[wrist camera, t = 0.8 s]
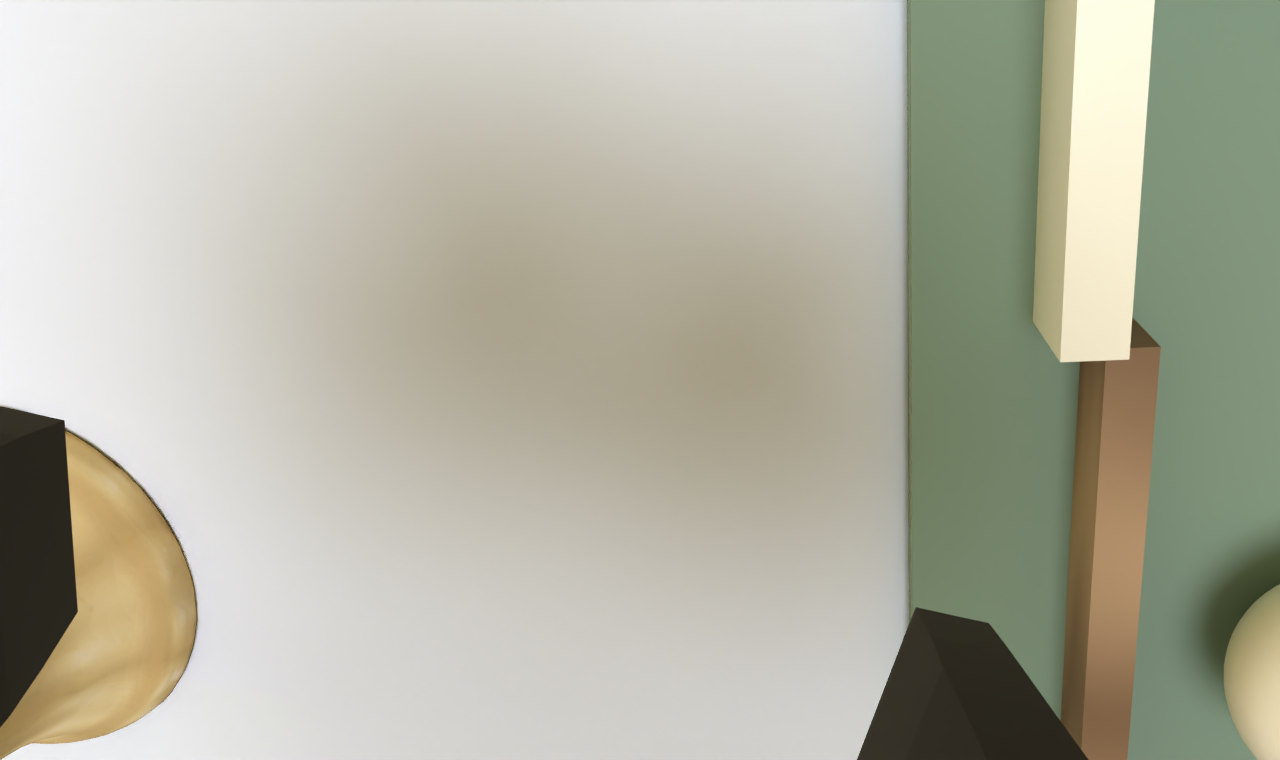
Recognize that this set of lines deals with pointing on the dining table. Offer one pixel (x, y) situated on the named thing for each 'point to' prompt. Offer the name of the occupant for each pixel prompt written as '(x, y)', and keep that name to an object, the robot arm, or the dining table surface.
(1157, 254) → the pitch mat
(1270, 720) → the ball
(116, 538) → the hand bell
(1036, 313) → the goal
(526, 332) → the dining table surface
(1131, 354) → the track
